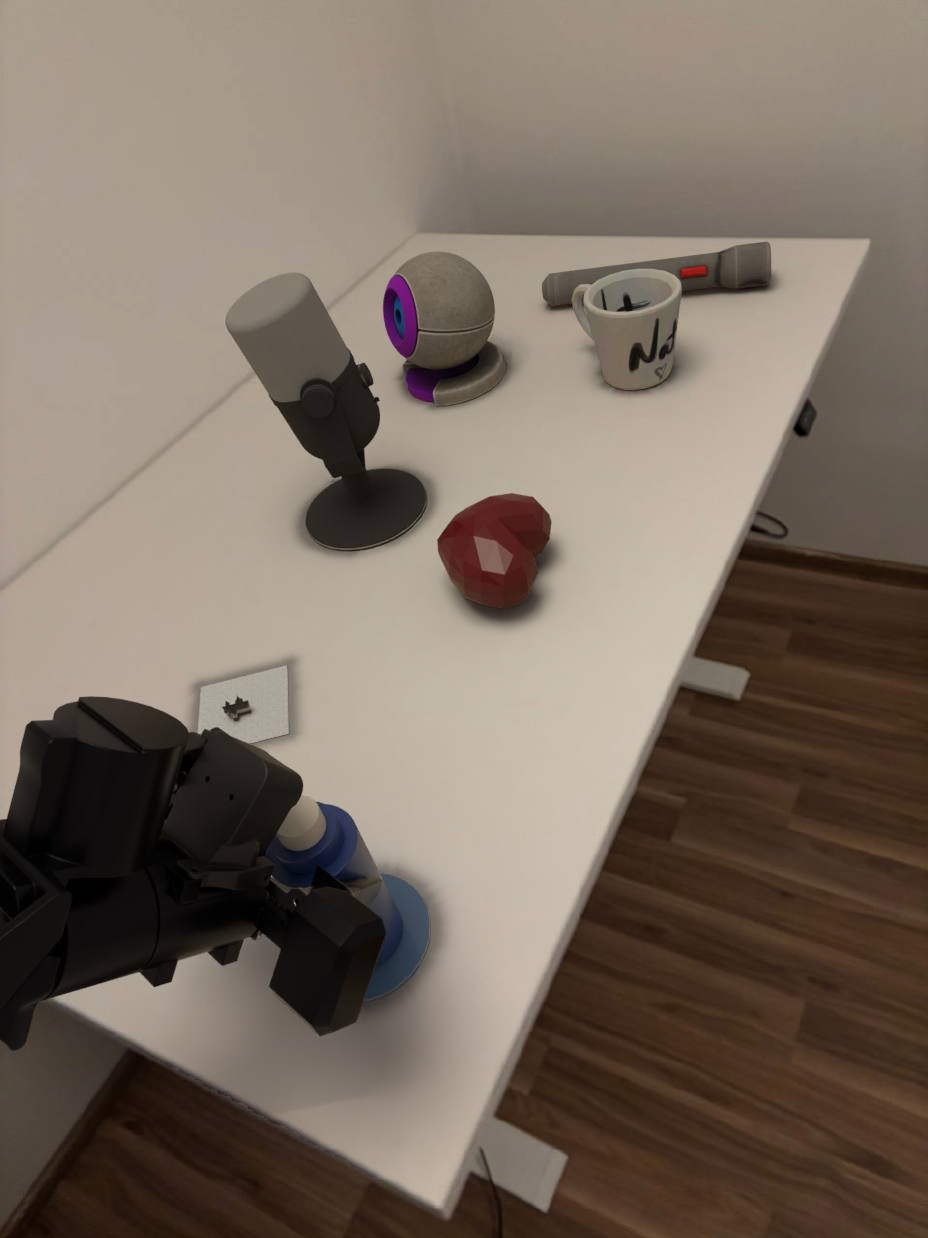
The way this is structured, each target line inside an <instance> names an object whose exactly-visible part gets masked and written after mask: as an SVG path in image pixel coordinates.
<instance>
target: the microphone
mask: <svg viewBox="0 0 928 1238" xmlns="http://www.w3.org/2000/svg"><path fill="white" fill-rule="evenodd" d="M224 321H225V328H226V330H227V331H228V334H230V336H231V337H232V339H233V341H234V342H235V344H236V345H237V347H238V349H239V350H240V351H241V353H242V355H243V356H244V357H245V359H246V361H247V363H248V364H249V366H250V367H251V369H252V370H253V372H254V374H255V375H256V377H257V378H258V380H259V381H260V383H261V384H262V386H263V388H264V389H265V391H266V392H267V395H268V397H269V399H270V400H271V402H272V404H273V405H274V406H275V407H276V408H277V409H278V411H279V413H280V414H281V415H282V417H283V419H284V420H285V422H286V424H287V425H288V426H289V428H290V430H291V431H292V433H293V434H294V436H295V438H296V439H297V441H298V442H299V444H300V445H301V446H302V448H303V449H304V450H305V451H306V452H307V453H308V454H310V455H311V457H314V458H316V459H319V460H322V463H323V465H324V467H325V469H326V471H328V474H329V475H330V476H331V478H332V479H336V478H340V477H341V478H340V479H337V480H336V481H334V482H333V483H331V484H330V485H328V486H327V487H325V488H324V489H323V490H322V491H320V492H319V493H318V494H317V495H316V497H315V498H313V500H312V501H311V503H310V504H309V506H308V508H307V511H306V513H305V519H304V520H305V528H306V530H307V532H308V534H309V536H310V538H311V539H312V540H313V541H314V542H315V543H317V544H318V545H320V546H322V547H324V548H326V549H329V550H333V551H340V552H353V551H354V552H355V551H364V550H368V549H373V548H376V547H379V546H382V545H385V544H387V543H390V542H391V541H394V540H395V539H397V538H399V537H400V536H403V534H405V533H406V532H408V531H409V530H410V529H411V528H413V526H415V524H416V523H418V521H419V520H420V519H421V517H422V516H423V514H424V512H425V509H426V507H427V503H428V496H427V491H426V489H425V486H424V483H423V482H422V481H421V480H420V479H419V478H418V477H417V476H415V474H411V473H410V472H407V471H406V470H401V469H396V468H372V469H367V467H366V453H365V448H367V447H368V446H369V445H370V443H371V442H372V441H373V440H374V438H375V436H376V435H377V433H378V430H379V428H380V422H381V412H380V406H379V404H378V402H380V401H381V400H380V397H379V396H376V397H375V396H374V394H373V392H372V391H371V389H370V387H371V386H373V385H374V378H373V375H372V373H371V370H370V368H369V366H368V365H367V364H366V363H365V362H361V363H356V361H355V357H354V355H353V354H352V352H351V350H350V348H349V347H348V346H347V344H346V343H345V341H344V339H343V337H342V335H341V334H340V332H339V330H338V328H337V327H336V325H335V323H334V321H333V319H332V317H331V316H330V314H329V312H328V310H327V308H326V306H325V304H324V303H323V301H322V299H321V297H320V296H319V294H318V291H317V290H316V288H315V286H314V284H313V283H312V281H311V279H310V278H309V277H308V276H307V275H305V274H303V273H300V272H285V273H281V274H277V275H274V276H272V277H270V278H267V279H265V280H263V281H261V282H259V283H257V284H256V285H255V286H253V287H251V288H250V289H249V290H246V292H244V293H243V294H242V295H240V296H239V297H238V298H237V299H236V300H235V301H234V302H233V303H232V304H231V306H230V308H229V309H228V310H227V312H226V316H225V320H224Z"/></svg>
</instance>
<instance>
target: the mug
mask: <svg viewBox="0 0 928 1238" xmlns="http://www.w3.org/2000/svg"><path fill="white" fill-rule="evenodd" d="M682 293H683V291H682V287H681V282H680V280H679V279H678V278H677V277H676V276H675V275H673V274H671V273H669V272H666V271H662V270H656V269H633V270H626V271H621V272H618V273H614V274H610V275H608V276H606V277H604V278H602V279H599V280H597V281H596V282H595V283H593V284H592V285H590V284H581V285H579V286H578V287H577V288H575V290H574V293H573V297H572V304H571V305H572V309H573V312H574V314H575V317H576V319H577V321H578V323H579V325H580V326H581V328H582V329H583V331H584V332H585V333H586V334H587V336H588V337H589V338H590V339H591V340H592V341H593V344H594V347H595V351H596V353H597V358H598V361H599V365H600V368H601V372H602V375H603V378H604V380H605V381H606V382H607V384H609V385H610V386H612V387H613V388H616V389H619V390H624V391H625V390H626V391H636V390H637V391H638V390H645V389H649V388H652V387H654V386H656V385H658V384H661V383H662V382H663V381H665V380H666V379H667V378H668V377H669V375H670V374H671V371H672V370H673V361H674V353H675V347H676V341H677V340H676V339H677V332H678V323H679V316H680V309H681V308H680V307H681V302H682V301H681V300H682ZM583 294H584V301H583V303H582V300H581V299H582V295H583Z"/></svg>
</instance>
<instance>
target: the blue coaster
mask: <svg viewBox="0 0 928 1238" xmlns="http://www.w3.org/2000/svg"><path fill="white" fill-rule="evenodd" d="M380 874H381V876H382V878H383V880H384V882H385V884H386V887H387V889H388V891H389V893H390V895H391V897H392V899H393V901H394V903H395V905H396V907H397V909H398V911H399V913H400V916H401V922H402V929H401V935H400V939H399V941H398V944H397V945H396V947H395V949H394V950H393V952H392V953H391V954H390V956H389V957H388V958H387V959H386V960H384V961H383V962H382V963H381V964H379V965H378V966H376V967H375V969H374V972H373V975H372V978H371V981H370V984H369V987H368V990H367V993H366V996H365V998H364V1001H363V1003H366V1002H370V1001H373V1000H377V999H380V998H382V997H385V996H387V995H389V994H391V993H392V992H394V991H396V990H397V989H399V988H400V987H401V986H402V985H404V984H405V983H406V982H407V981H408V980H409V979H410V978H411V977H412V976H413V974H414V973H415V972H416V971H417V969H418V967H419V966H420V965H421V963H422V961H423V960H424V958H425V955H426V952H427V949H428V947H429V943H430V939H431V918H430V914H429V909H428V907H427V905H426V902H425V901H424V898H423V897H422V895H421V894H420V892H419V891H418V890H417V889H416V888H415V887H414V886H413V885H412V884H410V883H409V882H407V881H406V880H404V879H402V878H400V877H398V876H395V875H392V874H387V873H381V872H380Z"/></svg>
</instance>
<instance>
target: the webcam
mask: <svg viewBox="0 0 928 1238" xmlns="http://www.w3.org/2000/svg"><path fill="white" fill-rule="evenodd" d="M495 314H496V306H495V298H494V294H493V291H492V289H491V286H490V284H489V282H488V281H487V279H486V277H485V275H484V274H483V273H482V272H481V271H480V269H479V268H478V267H476V266H475V265H474V264H473V262H472V261H469V260H468V259H466V258H464V257H463V256H460V255H458V254H455V253H451V252H446V251H427V252H424V253H421V254H418V255H415V256H414V257H412V258H410V259H407V260H406V261H405V262H404V263H402V265H400V267H398V269H397V270H396V271H395V272H394V274H393V275H392V276H391V277H390V279H389V280H388V283H387V284H386V288H385V291H384V294H383V300H382V315H383V322H384V327H385V331H386V335H387V337H388V338H389V342H391V344H392V346H393V347H394V349H395V350H396V351H397V353H398V354H399V355H400V356H402V357H403V358H405V359H406V360H404V362H403V364H402V372H403V376H404V377H405V382H406V386H407V387H406V388H407V391H408V392H409V393H410V394H411V395H412V396H413V397H414V398H417V399H418V400H421V401H424V402H431V403H434V405H435V407H439V406H450V405H451V406H452V405H456V404H460V403H463V402H467V401H471V400H473V399H476V398H477V397H480V396H482V395H484V394H485V393H487V392H488V391H490V390H492V389H493V388H494V387H495V386H496V385H498V383H499V382H500V381H501V379H502V378H503V377H504V374H505V371H506V363H505V359H504V355H503V352H502V351H501V349H500V347H498V346H497V345H496V344H494V343H493V342H492V341H489V339H490V336H491V333H492V331H493V327H494V323H495V317H496V316H495Z"/></svg>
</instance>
